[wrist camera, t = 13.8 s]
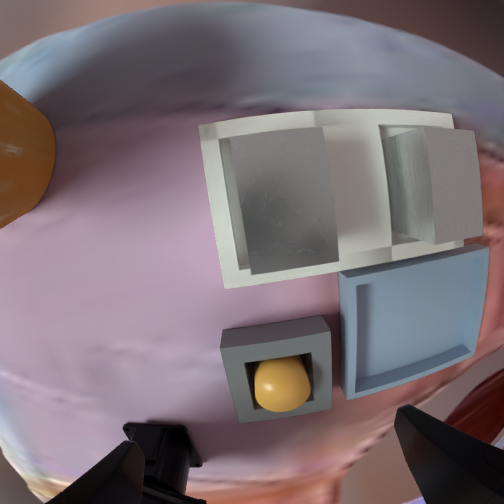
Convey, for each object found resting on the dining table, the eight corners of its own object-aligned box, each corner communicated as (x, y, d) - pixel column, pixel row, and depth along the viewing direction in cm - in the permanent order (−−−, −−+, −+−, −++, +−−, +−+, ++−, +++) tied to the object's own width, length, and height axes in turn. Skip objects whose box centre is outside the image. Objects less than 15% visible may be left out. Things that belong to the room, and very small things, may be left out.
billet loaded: (314, 241, 18) (339, 261, 13) (249, 251, 18) (251, 275, 13) (301, 143, 16) (322, 127, 11) (234, 152, 16) (229, 137, 11)
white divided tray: (446, 244, 19) (463, 249, 17) (227, 281, 19) (225, 293, 17) (434, 115, 17) (450, 110, 15) (202, 128, 17) (197, 121, 15)
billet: (436, 223, 17) (482, 235, 13) (391, 230, 18) (434, 245, 13) (428, 139, 16) (473, 130, 11) (381, 139, 16) (423, 126, 11)
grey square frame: (324, 389, 21) (331, 408, 19) (239, 402, 21) (239, 423, 19) (321, 314, 20) (330, 331, 17) (222, 330, 20) (219, 348, 17)
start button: (304, 381, 20) (311, 407, 17) (257, 389, 20) (259, 415, 17) (301, 343, 20) (309, 367, 17) (250, 351, 20) (251, 376, 17)
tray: (463, 346, 21) (474, 355, 19) (340, 386, 21) (347, 400, 19) (475, 242, 19) (489, 247, 17) (337, 269, 19) (346, 278, 17)
